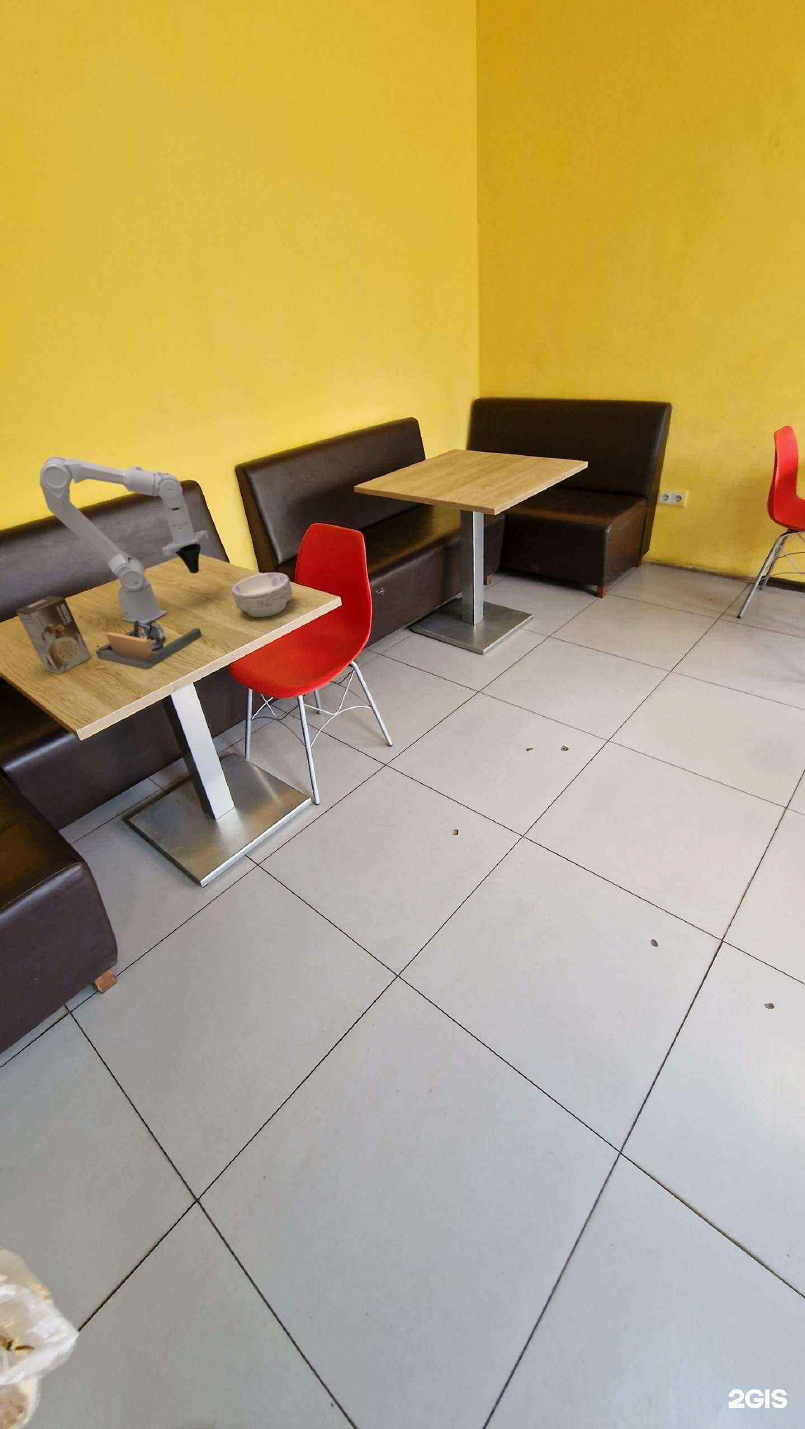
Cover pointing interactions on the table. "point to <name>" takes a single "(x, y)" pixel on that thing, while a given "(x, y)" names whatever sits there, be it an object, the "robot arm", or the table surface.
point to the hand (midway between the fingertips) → (194, 572)
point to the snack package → (149, 633)
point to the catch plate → (129, 645)
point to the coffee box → (54, 634)
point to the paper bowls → (262, 594)
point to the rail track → (154, 658)
